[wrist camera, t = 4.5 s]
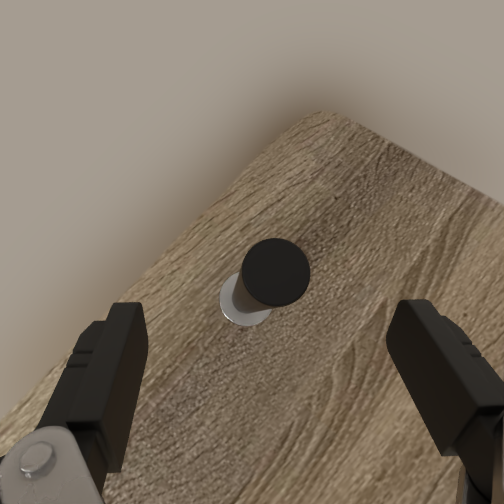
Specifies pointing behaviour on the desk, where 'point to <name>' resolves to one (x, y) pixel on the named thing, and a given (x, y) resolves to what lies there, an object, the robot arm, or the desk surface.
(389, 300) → the desk surface
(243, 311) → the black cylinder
